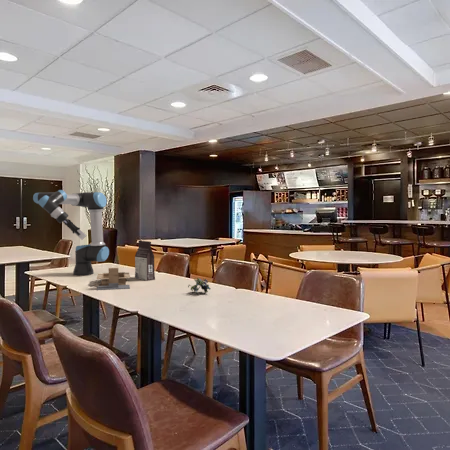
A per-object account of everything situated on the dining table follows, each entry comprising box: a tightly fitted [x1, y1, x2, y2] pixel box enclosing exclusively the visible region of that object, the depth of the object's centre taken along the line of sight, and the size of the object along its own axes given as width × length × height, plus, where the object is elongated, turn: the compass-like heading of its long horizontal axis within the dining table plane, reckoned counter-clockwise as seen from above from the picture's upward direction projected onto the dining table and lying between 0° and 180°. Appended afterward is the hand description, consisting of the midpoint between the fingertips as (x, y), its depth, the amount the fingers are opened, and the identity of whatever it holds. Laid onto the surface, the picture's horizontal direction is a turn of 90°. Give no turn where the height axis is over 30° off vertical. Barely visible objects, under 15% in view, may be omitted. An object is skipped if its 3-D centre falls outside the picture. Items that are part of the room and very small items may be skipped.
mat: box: [96, 284, 131, 291], centre depth 240 cm, size 11×20×1 cm, turn 107°
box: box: [108, 267, 119, 288], centre depth 240 cm, size 6×6×12 cm
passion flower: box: [187, 277, 211, 295], centre depth 225 cm, size 11×11×12 cm
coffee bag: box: [134, 240, 156, 282], centre depth 274 cm, size 16×9×28 cm, turn 46°
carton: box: [96, 271, 131, 286], centre depth 259 cm, size 26×22×5 cm
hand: (84, 237), depth 249 cm, fingers open, 13 cm apart
